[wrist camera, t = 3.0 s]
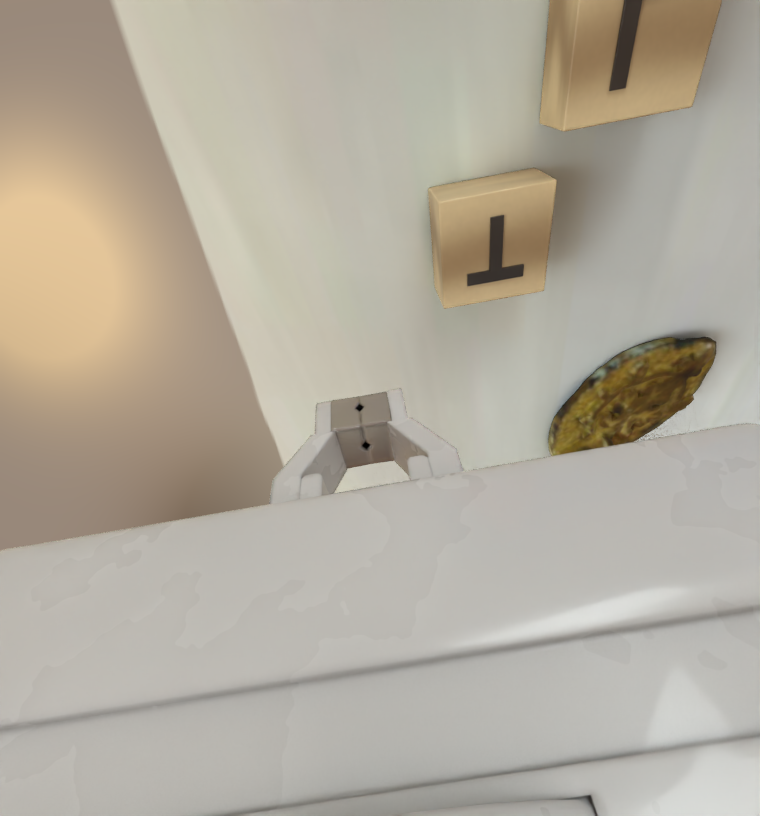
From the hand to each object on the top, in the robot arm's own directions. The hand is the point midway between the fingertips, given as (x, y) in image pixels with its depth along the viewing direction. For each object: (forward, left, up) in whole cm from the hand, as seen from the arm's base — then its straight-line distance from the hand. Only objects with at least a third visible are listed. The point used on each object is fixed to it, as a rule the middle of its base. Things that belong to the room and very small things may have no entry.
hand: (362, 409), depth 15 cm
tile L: (-8, +14, -14) cm, 21 cm away
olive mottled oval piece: (+16, +20, -14) cm, 29 cm away
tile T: (0, +8, -14) cm, 16 cm away
